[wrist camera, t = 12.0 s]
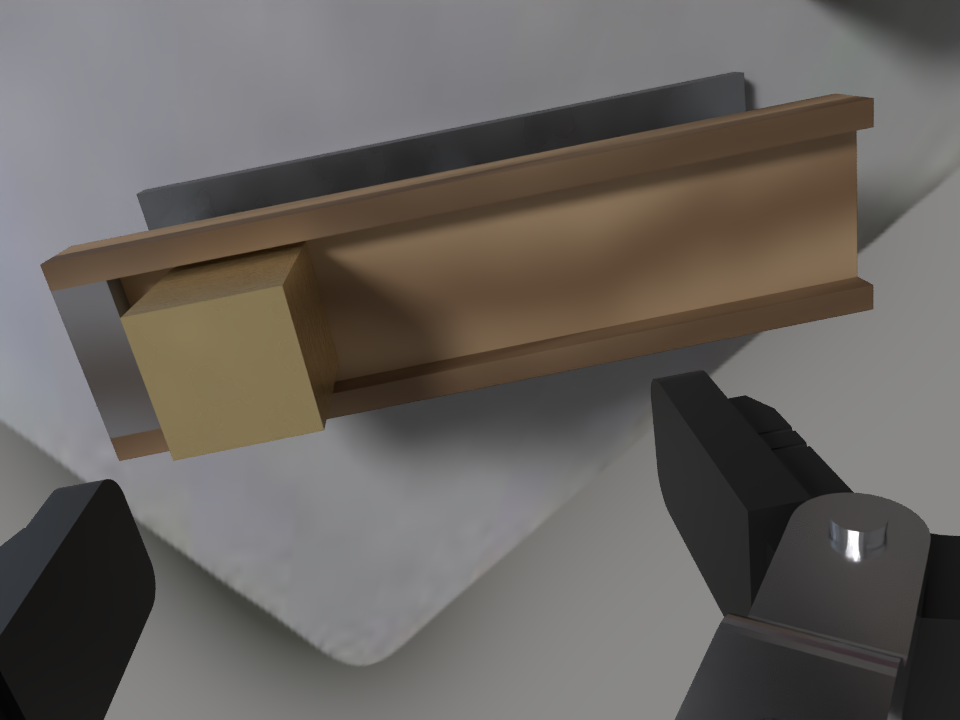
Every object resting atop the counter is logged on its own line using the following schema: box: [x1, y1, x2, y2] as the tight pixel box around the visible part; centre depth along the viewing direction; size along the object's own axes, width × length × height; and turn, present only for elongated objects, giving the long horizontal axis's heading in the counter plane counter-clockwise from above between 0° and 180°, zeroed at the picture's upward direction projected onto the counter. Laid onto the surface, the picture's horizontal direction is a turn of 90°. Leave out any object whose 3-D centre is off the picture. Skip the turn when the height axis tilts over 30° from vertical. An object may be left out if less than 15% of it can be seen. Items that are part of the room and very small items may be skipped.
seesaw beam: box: [40, 94, 874, 461], centre depth 31 cm, size 8×30×3 cm, turn 100°
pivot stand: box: [137, 72, 746, 231], centre depth 37 cm, size 9×30×10 cm, turn 100°
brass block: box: [120, 241, 339, 461], centre depth 28 cm, size 5×5×6 cm
